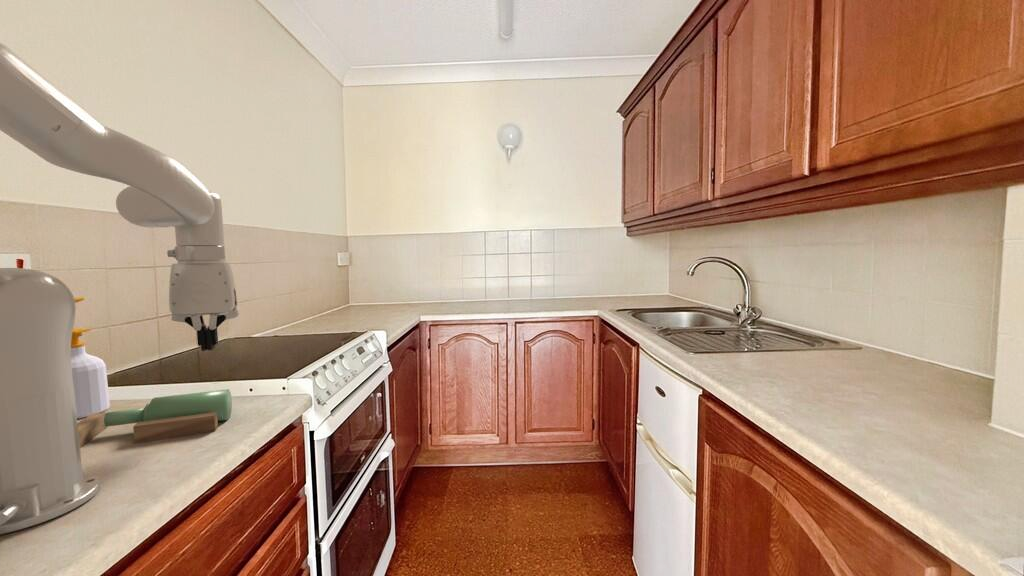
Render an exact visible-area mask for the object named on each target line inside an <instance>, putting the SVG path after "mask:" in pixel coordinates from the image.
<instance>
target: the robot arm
mask: <svg viewBox="0 0 1024 576" xmlns="http://www.w3.org/2000/svg"><path fill="white" fill-rule="evenodd" d="M0 131H1V132H3V134H5V135H7V136H8V137H9V138H11V139H13V140H14V141H16V142H18V143H19V144H20V145H22V146H24V147H25V148H26V149H28V150H29V151H30V152H32V153H34V154H35V155H37V156H38V157H40V158H42V159H43V160H44V161H45V162H47V163H49V164H52V165H53V166H56V167H59V168H62V169H66V170H68V171H72V172H75V173H80V174H83V175H87V176H91V177H97V178H102V179H106V180H110V181H115V182H118V183H120V184H123V185H127V187H125V188H123V189H122V190H121V191H120V192H119V193H118V195H117V196H116V199H115V207H116V211H118V213H119V215H120V216H121V217H122V218H123V219H124V220H125V221H127V222H129V223H130V224H133V225H135V226H139V227H142V228H170V227H171V228H172V227H173V228H174V233H175V244H176V245H175V246H174V249H168V250H167V252H166V254H167V257H168V258H174V259H175V260H176V261H177V263H172V264H171V266H170V274H169V287H168V289H169V290H168V292H169V294H168V303H169V304H168V305H169V311H170V313H171V321H173V322H177V323H179V322H180V323H186V324H188V326H190V327H192V328H193V329H194V331H196V338H197V339H196V340H197V345H198V347H200V349H201V351H202V352H204V351H213V350H214V349H215V348H216V346H217V345H219V337H218V335H219V334H218V327H220V325H222V324H223V323H225V321H228V320H231V319H234V318H237V317H239V315H240V314H239V311H238V308H237V305H238V298H237V297H238V296H237V291H236V283H235V279H234V274H233V270H232V267H231V263H230V262H226V249H225V234H224V233H225V232H224V221H223V206H222V205H223V203H222V199H221V197H220V195H219V194H217V193H215V192H212V191H209V190H208V189H207V188H206V187H205V185H204V184H203V183H202V182H201V181H200V180H198V179H197V177H196V176H194V175H193V174H192V173H191V172H190V171H189V170H188V169H186V168H185V167H184V166H183V165H182V164H180V163H179V162H178V161H176V160H175V159H173V158H171V157H170V156H168V155H167V154H165V153H163V152H161V151H160V150H157V149H155V148H153V147H151V146H149V145H146V144H145V143H143V142H140V141H139V140H136V139H135V138H132V137H130V136H128V135H126V134H125V133H124V134H123V133H122V132H119V131H117V130H115V129H112V128H110V127H108V126H106V125H104V124H102V123H101V122H99V121H98V120H97V119H96V118H94V117H93V116H92V115H91V114H89V112H88V111H86V110H85V109H84V108H83V107H81V106H80V105H78V104H77V102H75V101H74V100H72V99H71V97H69V96H68V95H66V94H65V93H64V92H63V91H62V90H61V89H59V88H58V87H57V86H55V85H54V84H53V83H52V82H50V81H49V80H48V79H47V78H46V77H44V75H43V74H41V73H40V72H38V71H37V70H36V69H35V68H33V67H32V66H31V65H30V64H29V63H27V62H26V61H25V60H24V59H22V58H21V57H20V56H19V55H18V54H17V53H15V52H14V51H12V50H11V49H10V48H9V47H8V46H7V45H4V44H3V43H2V42H0ZM74 298H75V297H74V295H73V292H72V291H71V290H70V288H69V287H68V286H67V284H66V283H64V282H63V281H62V280H60V279H59V278H57V277H55V276H53V275H52V274H49V273H46V272H43V271H41V270H35V269H31V268H23V267H22V268H21V267H0V535H3V534H4V535H5V534H9V533H11V532H12V533H13V532H16V531H20V530H24V529H27V528H30V527H33V526H36V525H39V524H42V523H45V522H47V521H50V520H52V519H56V518H57V517H59V516H62V515H64V514H66V513H69V512H70V511H73V510H74V509H77V508H78V507H80V506H82V505H83V504H85V503H86V502H88V501H90V499H92V498H93V497H94V496H95V495H96V494H97V493H98V492H99V489H100V479H99V477H97V476H95V475H93V474H86V473H83V464H82V463H83V462H82V453H81V448H80V443H79V433H78V419H77V414H76V404H75V395H74V385H73V378H72V367H71V339H72V332H73V329H74V326H75V325H74V324H75V319H76V310H77V309H76V308H77V307H76V306H77V305H76V303H75V300H74ZM207 315H209V320H208V326H207V325H206V324H205V319H204V316H207Z"/></svg>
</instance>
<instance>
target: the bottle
mask: <svg viewBox="0 0 1024 576" xmlns="http://www.w3.org/2000/svg"><path fill="white" fill-rule="evenodd" d="M232 400H233V399H232V392H231V391H230V389H220V390H211V391H202V392H193V393H191V392H190V393H183V394H182V393H181V394H176V395H174V394H173V395H167V396H159V397H153V398H152V399H151V400H150V402H149V403H147V404H146V405H145V407H142V408H141V407H139V408H131V409H125V410H123V409H122V410H115V411H107V412H106V414H105V417H104V424H105V426H106V427H107V428H108V427H115V426H123V425H129V424H131V425H132V424H137V423H138V422H144V421H152V420H159V419H167V418H174V417H182V416H189V415H197V414H204V413H212V412H217V420H218V422H222V421H228V420H229V419H230V418H231V414H232V411H233V410H232V408H233V407H232V406H233V401H232Z"/></svg>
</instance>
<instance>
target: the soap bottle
mask: <svg viewBox="0 0 1024 576" xmlns="http://www.w3.org/2000/svg"><path fill="white" fill-rule="evenodd" d="M85 299H86V298H85V297H74V300H75V304H77V303H79V302H82V301H85ZM87 332H91V328H73V332H72V339H71V367H72V378H73V385H74V395H75V404H76V414H77V420H78V419H83V418H84V419H85V418H87V417H88V416H90V415H91V414H96V413H104V412H105V411H107V410H108V409H109V408H110V406H111V405H110V395H109V394H110V393H109V383H108V374H107V364H106V363H105V361H104V360H103V359H102V358H100V357H98V356H95V355H91V354H88V353H87V352H86V344H85V342H80V340H79V339H80V338H79V337H82V336H83V333H87Z"/></svg>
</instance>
